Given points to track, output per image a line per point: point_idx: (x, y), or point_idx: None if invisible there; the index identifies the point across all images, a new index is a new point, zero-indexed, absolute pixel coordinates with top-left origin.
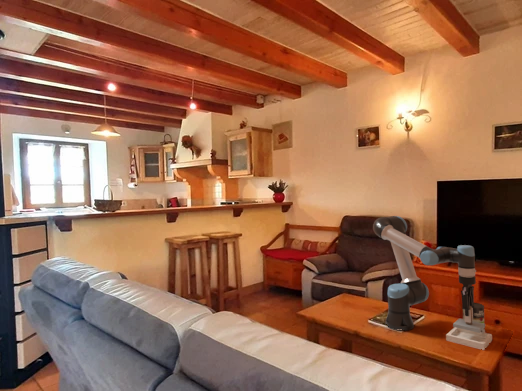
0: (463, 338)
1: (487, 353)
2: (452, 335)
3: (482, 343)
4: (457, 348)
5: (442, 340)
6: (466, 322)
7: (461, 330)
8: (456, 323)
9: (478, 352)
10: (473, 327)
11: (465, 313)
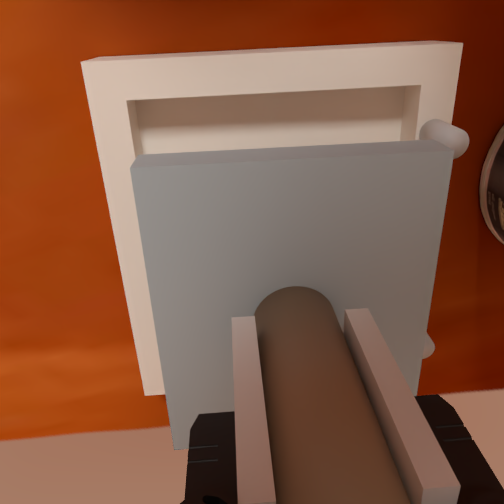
0: (132, 245)
1: (116, 387)
2: (120, 130)
3: (150, 385)
4: (7, 213)
5: (65, 20)
6: (257, 320)
7: (407, 123)
8: (180, 202)
9: (80, 346)
10: (192, 395)
11: (190, 462)
